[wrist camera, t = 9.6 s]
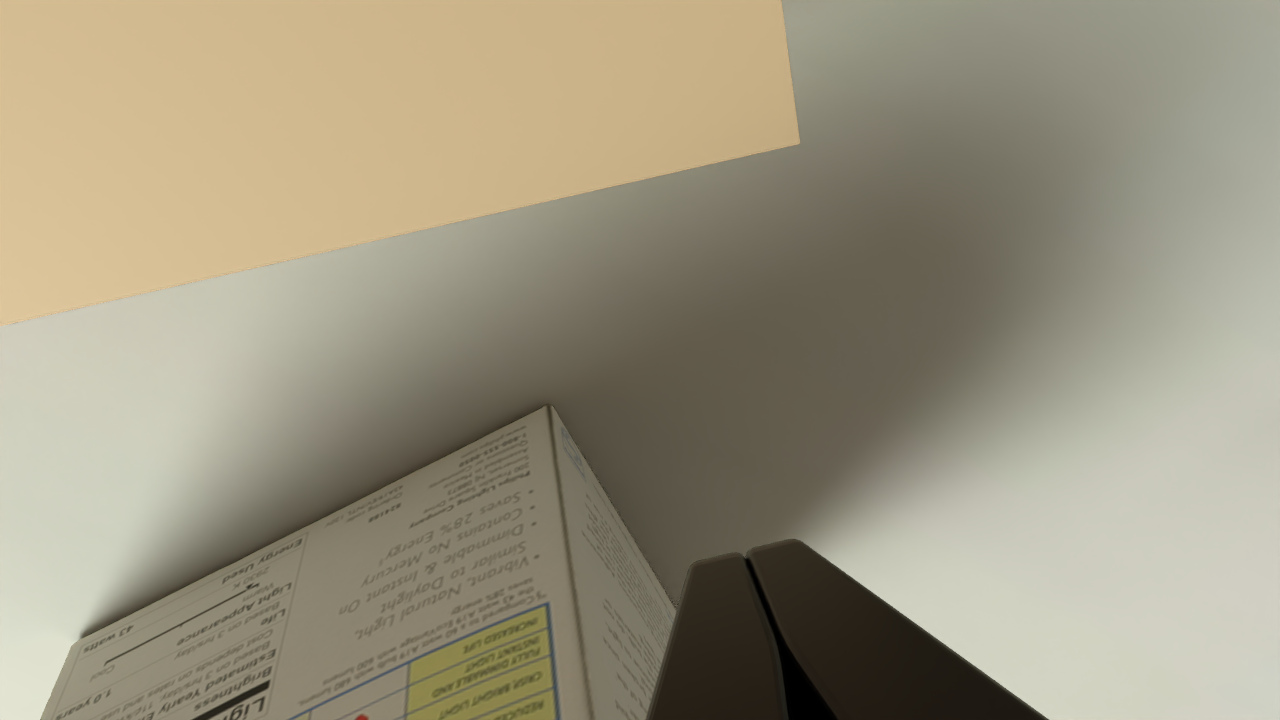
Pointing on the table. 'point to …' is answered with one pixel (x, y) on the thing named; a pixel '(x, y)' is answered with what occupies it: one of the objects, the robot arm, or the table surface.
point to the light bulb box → (407, 608)
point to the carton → (345, 123)
